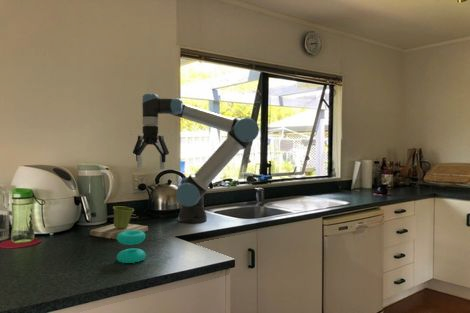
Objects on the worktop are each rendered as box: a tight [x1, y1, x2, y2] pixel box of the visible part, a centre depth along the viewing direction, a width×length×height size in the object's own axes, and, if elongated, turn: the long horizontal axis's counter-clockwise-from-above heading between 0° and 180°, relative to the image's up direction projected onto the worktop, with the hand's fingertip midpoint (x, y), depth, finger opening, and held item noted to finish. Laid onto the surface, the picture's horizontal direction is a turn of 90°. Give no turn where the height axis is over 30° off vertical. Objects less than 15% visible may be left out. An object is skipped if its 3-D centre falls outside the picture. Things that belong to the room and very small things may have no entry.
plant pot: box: [112, 205, 135, 228], centre depth 175 cm, size 9×9×9 cm
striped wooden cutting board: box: [89, 223, 149, 240], centre depth 176 cm, size 18×18×3 cm
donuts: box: [116, 230, 147, 264], centre depth 136 cm, size 10×10×10 cm
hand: (150, 168), depth 189 cm, fingers open, 13 cm apart
